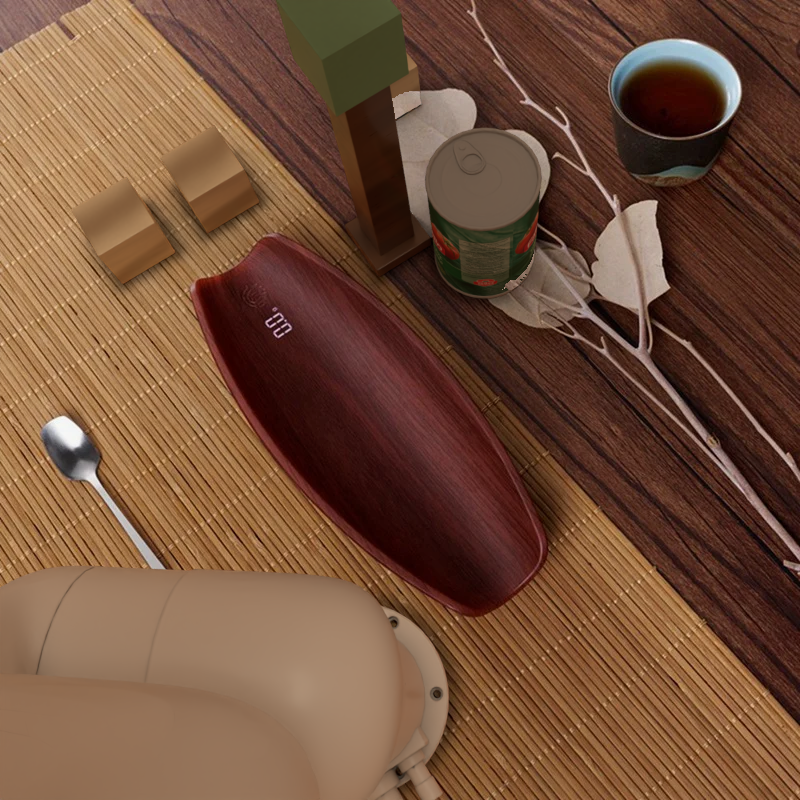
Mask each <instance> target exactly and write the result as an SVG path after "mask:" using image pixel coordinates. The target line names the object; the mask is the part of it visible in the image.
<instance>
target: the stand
mask: <svg viewBox="0 0 800 800" xmlns="http://www.w3.org/2000/svg"><path fill="white" fill-rule="evenodd" d="M325 106H326V109H327V112H328V116H329V119H330V123H331V128H332V130H333V135H334V137H335V138H334V139H335V141H336V146H337V149H338V152H339V155H340V156H339V157H340V159H341V163H342V166H343V170H344V174H345V178H346V182H347V185H348V189H349V193H350V196H351V199H352V203H353V207H354V211H355V214H356V217H355V218H353V219H351V220H349V221H348V222H347V223H345V224H344V227H345V231H346V233H347V234H348V236H349V237H350V239H351V241H352V242H353V243H354V244H355V246H356V247H357V249H358V250H359V251H360V253H361V255H362V257H364V259H365V260H366V261H367V263H368V264H369V266H370V267H371V269H372V270H373V271H374V273H375V274H376V275H377V277H378V278H380V277H381V276H384V275H385V274H386V273H388V272H390V271H392V270H393V269H395V268H396V267H398V266H400V265H401V264H404V262H406V261H408V260H409V259H411V258H412V257H414V256H416V255H417V254H419V253H422V252H423V251H424V250H426V249H427V248H429V247H430V246H432V240H431V236H430V234H429V233H428V232H427V231H426V229H425V228H424V227H423V225H422V224H421V223H420V221H419V220H418V219H417V217H416V216H415V215H414V213H413V212H412V211H411V205H410V199H409V194H408V188H407V180H406V175H405V168H404V161H403V156H402V149H401V145H400V137H399V131H398V125H397V120H396V119H395V113H394V107H393V101H392V95H391V89H390V85H389V86H388V87H386V88H384V89H383V90H381V91H379V92H378V93H376V94H374V95H373V96H371V97H369V98H368V99H366V100H364V101H363V102H361V103H359V104H358V105H356V106H354V107H352V108H351V109H349V110H347V111H346V112H344V113H342V114H341V115H339V116H337V117H336V116H335V114H334V113H333V112H332V110H331V109H330V107H329V106H328V105H327V103H326V102H325ZM412 213H413V214H412Z"/></svg>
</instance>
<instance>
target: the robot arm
mask: <svg viewBox="0 0 800 800" xmlns="http://www.w3.org/2000/svg"><path fill="white" fill-rule="evenodd" d="M392 621H393V622H394V621H396V626H394V627H393V625H392V624H391V623H392ZM436 691H439V692H440V695H439V697H436V696H435V695H434V692H436ZM449 691H450V689H449V683H448V678H447V673H446V669H445V667H444V664H443V661H442V659H441V656H440V654H439V653H438V650H437V649H436V647H435V645H434V644H433V643H432V641H431V639H430V638H429V637H428V636H427V635H426V633H425V632H424V631H423V630H422V629H421V628H420V627H419V626H418V625H417V624H416V623H415V622H413V621H412V620H411V619H410V618H408V617H406V616H404V615H403V614H401V613H400V612H398V611H396V610H394V609H393V608H392V609H391V608H389V607H386V606H383V605H381V604H380V602H379V601H378V600H377V598H375V597H374V595H372V594H371V593H370V592H368V591H367V590H366V589H364V588H363V587H362V586H360V585H358V584H357V583H354V582H352V581H349V580H345V579H342V578H338V577H333V576H327V575H326V576H325V575H318V574H310V573H308V574H307V573H298V572H297V573H294V572H276V571H258V570H234V569H233V570H232V569H213V568H212V569H211V568H210V569H209V568H193V569H190V570H189V569H165V568H143V567H121V566H103V565H61V566H52V567H47V568H43V569H39V570H35V571H33V572H29V573H26V574H24V575H21V576H19V577H17V578H14V579H13V580H11V581H9V582H7V583H5V584H3V585H1V586H0V800H404V798H403V796H402V795H401V792H400V791H399V789H398V788H400V787H402V786H404V784H406V783H407V782H409V781H411V783H412V784H413V786H414V790H415V792H416V793H417V795H418V797H419V799H420V800H437V799H439V798H440V797H441V796H442V795H444V792H443V791H442V789H441V787H440V786H439V784H438V782H437V780H436V779H435V777H434V775H432V774H431V772H430V771H429V769H428V767H427V764H428V762H429V761H430V760H431V758H432V756H433V755H434V754H435V752H436V750H437V748H438V747H439V745H440V742H441V740H442V737H443V734H444V733H445V730H446V726H447V721H448V715H449V709H450V695H449V694H450V692H449ZM397 769H399V771H400V773H401V775H399V774H398V773H397Z"/></svg>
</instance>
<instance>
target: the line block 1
mask: <svg viewBox="0 0 800 800" xmlns="http://www.w3.org/2000/svg"><path fill="white" fill-rule="evenodd" d="M70 211H71V212H72V214H73V216H74V217H75V220H76V221H77V223H78V225H79V226H80V228H81V230H82V231H83V233H84V235H85V237H86V238H87V240H88V242H89V244H90V245H91V247H92V249H93V250H94V253H96V255H97V257H98V258H99V259H100V260H101V262H102V263H103V264H104V265H105V266H106V267H107V268H108V269H109V270H110V273H112V274H113V275H114V276H115V278H116V279H117V280H118V281H119V282H120V283H121V284H122V285H124V284H126V283H127V282H129V281H131V280H133V279H134V278H135V277H137V276H139V275H141V274H143V273H144V272H146V271H147V270H149V269H151V268H152V267H154V266H156V265H158V264H159V263H161V262H162V261H164V260H166V259H168V258H169V257H171V256H172V255H174V254H175V253H176V251H175V249H174V247H173V245H172V244H171V242H170V241H169V239H168V238H167V236H166V234H165V233H164V231H163V230H162V228H161V226H160V225H159V223H158V221H157V220H156V218H155V217H154V215H153V213H152V212H151V210H150V208H149V207H148V206H147V204H146V203H145V201H144V199H143V198H142V197H141V195H140V194H139V193H138V191H137V189H136V188H135V187H134V185H133V184H132V183H131V181H130V179H129V178H128V177H127V176H125V177H123V178H122V179H120V180H118V181H116V182H114V183H113V184H111V185H110V186H107V187H106V188H104V189H103V190H101V191H99V192H98V193H96V194H94V195H92V196H91V197H89V198H88V199H86V200H84V201H82V202H81V203H79V204H78V205H77V204H76V205H75V206H74V207H72V208H71V209H70Z"/></svg>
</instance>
